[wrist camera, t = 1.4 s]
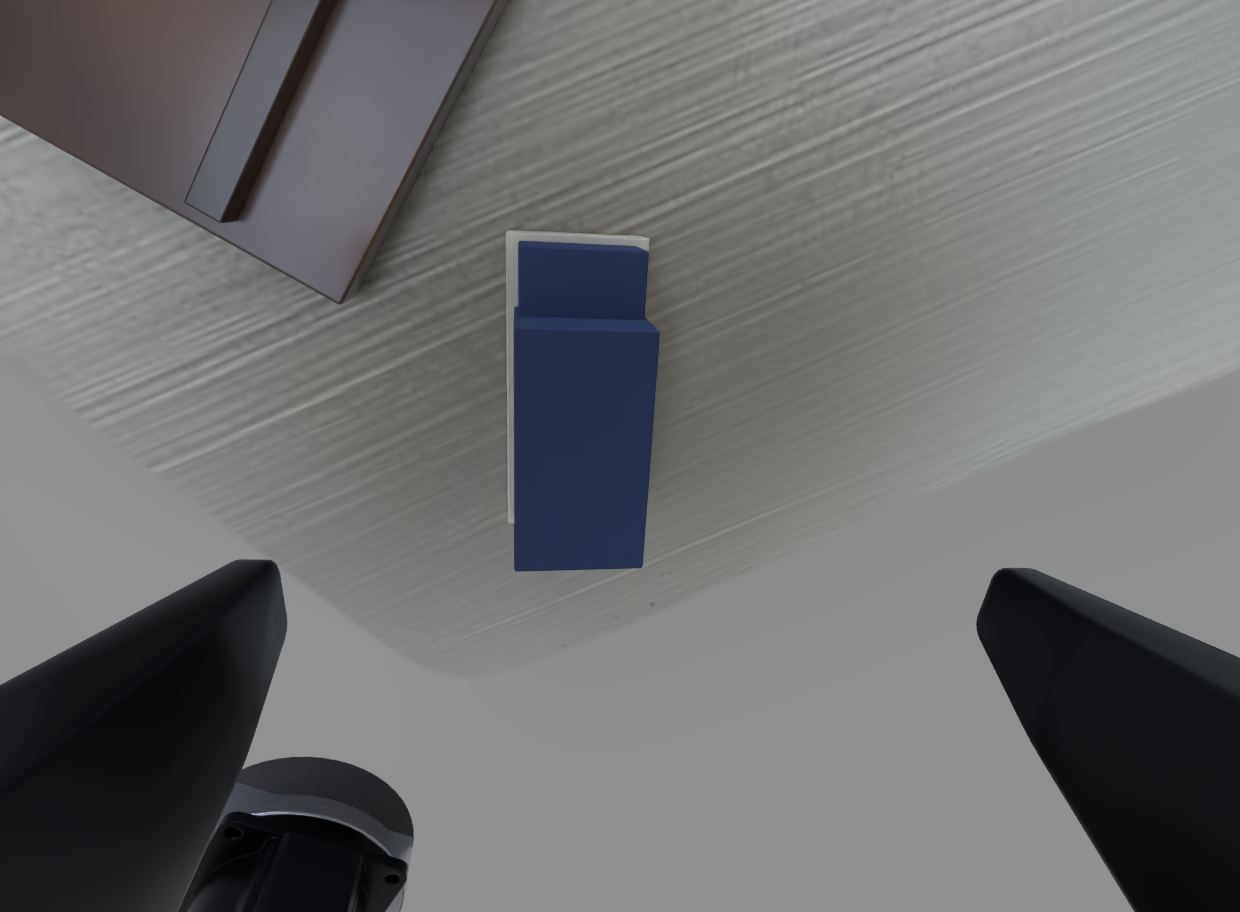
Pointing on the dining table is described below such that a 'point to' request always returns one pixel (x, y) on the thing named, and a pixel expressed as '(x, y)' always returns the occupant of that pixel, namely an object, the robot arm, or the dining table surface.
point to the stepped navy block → (578, 399)
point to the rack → (251, 110)
